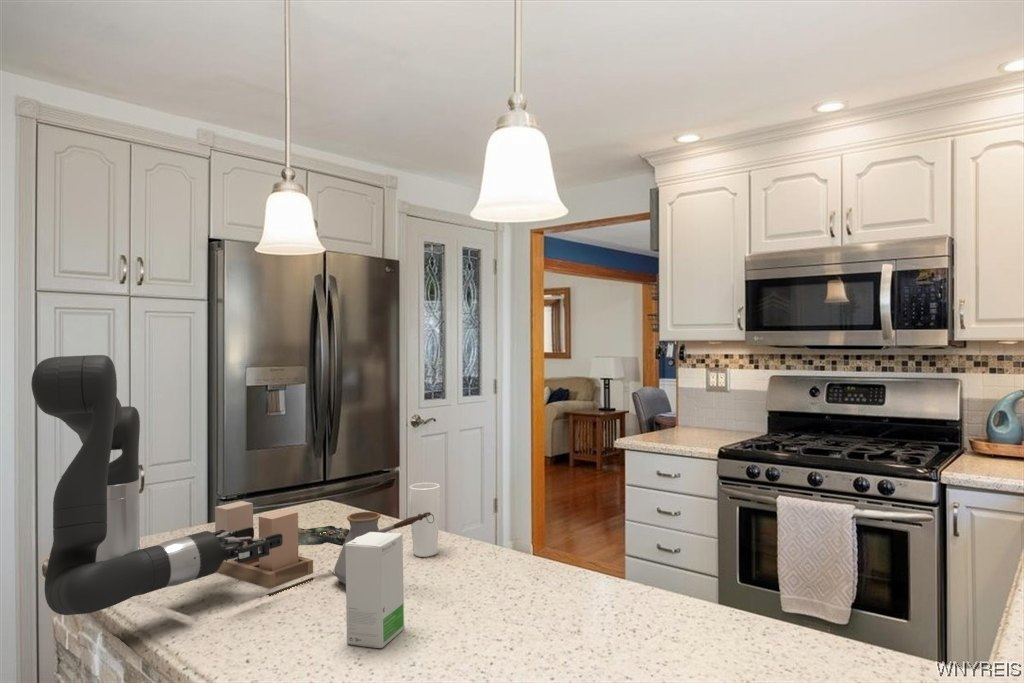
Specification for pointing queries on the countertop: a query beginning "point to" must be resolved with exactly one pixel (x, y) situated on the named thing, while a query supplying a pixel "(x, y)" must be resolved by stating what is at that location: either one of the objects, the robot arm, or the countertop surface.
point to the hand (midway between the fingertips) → (266, 535)
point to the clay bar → (288, 527)
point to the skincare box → (374, 589)
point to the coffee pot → (366, 524)
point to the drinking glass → (423, 532)
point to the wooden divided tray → (267, 573)
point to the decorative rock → (322, 535)
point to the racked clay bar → (234, 516)
